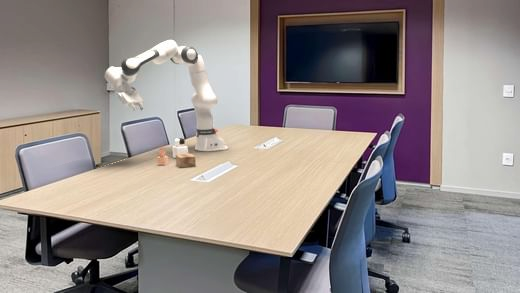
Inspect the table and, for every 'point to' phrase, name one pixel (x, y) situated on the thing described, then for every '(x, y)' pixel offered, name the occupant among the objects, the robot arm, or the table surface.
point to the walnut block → (185, 160)
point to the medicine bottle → (179, 147)
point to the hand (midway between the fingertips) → (139, 110)
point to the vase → (162, 157)
